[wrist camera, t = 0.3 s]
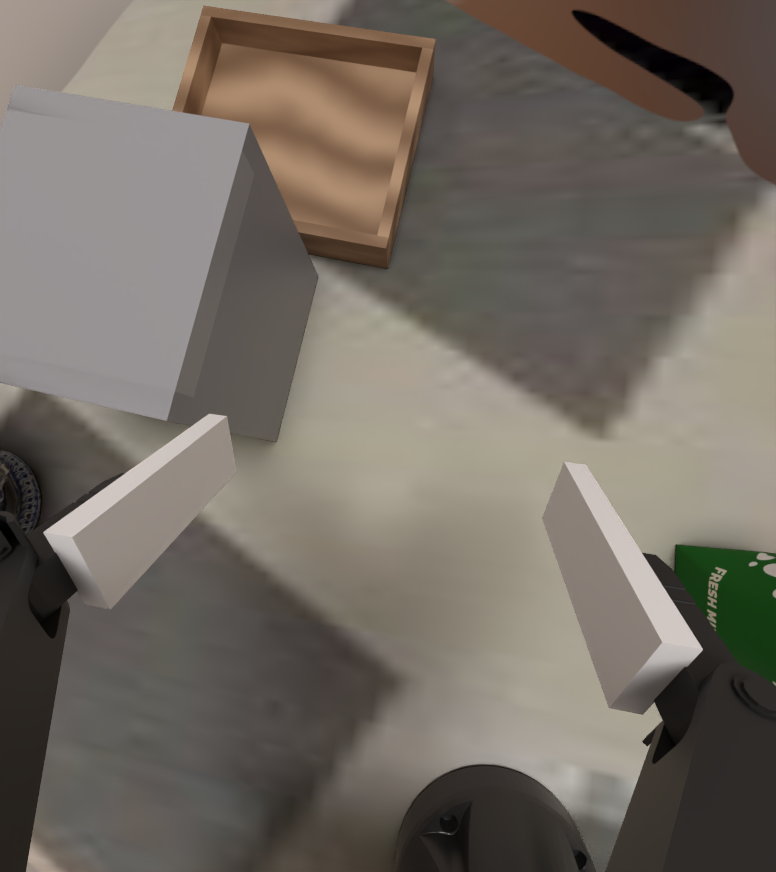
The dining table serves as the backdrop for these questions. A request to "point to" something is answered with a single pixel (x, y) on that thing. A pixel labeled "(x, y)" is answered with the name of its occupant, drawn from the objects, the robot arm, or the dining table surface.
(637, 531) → the dining table surface
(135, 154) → the grey open box
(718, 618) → the milk carton
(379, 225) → the tray
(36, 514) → the decorative vase
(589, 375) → the dining table surface
